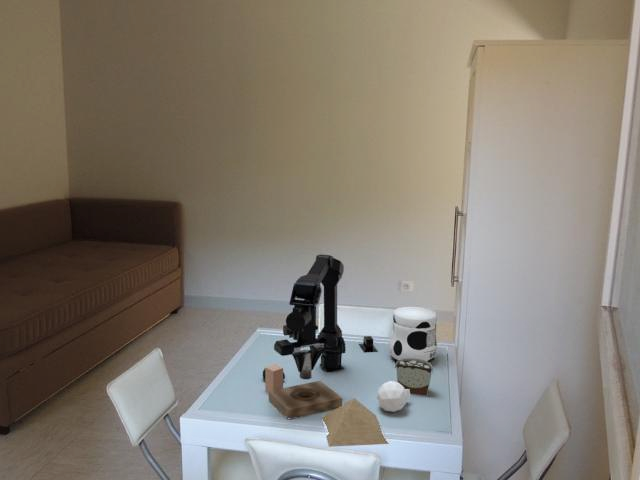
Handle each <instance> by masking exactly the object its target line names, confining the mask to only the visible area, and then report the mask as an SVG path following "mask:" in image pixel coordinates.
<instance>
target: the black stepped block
mask: <svg viewBox="0 0 640 480" xmlns="http://www.w3.org/2000/svg"><path fill="white" fill-rule="evenodd" d="M362 339H363V343H358V346H359V347H360V349H361V350H362V352H363V353H378V352H379V351H378V349H377V348H376V347H375V345H374V339H373V337H372V336H371V335H368V336H367V335H365V336H363V338H362Z"/></svg>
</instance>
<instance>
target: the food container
mask: <svg viewBox="0 0 640 480" xmlns="http://www.w3.org/2000/svg"><path fill="white" fill-rule="evenodd" d="M394 369H396V380H397V381H396V382H398V383H400V384H401V385H402V386H403V387H404V388H405V389H410V395H413V396H420V397H425V398H428V396H429V395H428V394H429V388H430V383H431V378H432V374H434V367H433V365H432V363H431V362H430V363H429V362H427V361H425V360H421V359H415V358H406V359H401V360H399V361H397V360H396V363H395V365H394Z"/></svg>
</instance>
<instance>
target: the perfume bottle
mask: <svg viewBox="0 0 640 480" xmlns="http://www.w3.org/2000/svg"><path fill="white" fill-rule="evenodd" d="M408 398H411V394H410V389H405V388H404V387H403V386H402V385H401V384H400V383H398V382H397V381H393V380H392V381H391V380H389V381H386V382H384V383H383V384H382V385H381V386H380V387H379V388H378V390H377V395H376V399H377V402H378V404H379V406H380V407H381V408H382V409H383V410H384V411H385V412H391V413H392V412H393V413H396V412H398V411H400V410H402V409H403V408H404V407H405V406H406V404H407V402H408Z"/></svg>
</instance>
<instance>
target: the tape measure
mask: <svg viewBox="0 0 640 480" xmlns="http://www.w3.org/2000/svg"><path fill="white" fill-rule="evenodd" d="M262 378H263V380H265V368H264V369H263V370H262ZM285 378H286V374H285V372H284V371H283V381H284V380H285Z"/></svg>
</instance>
